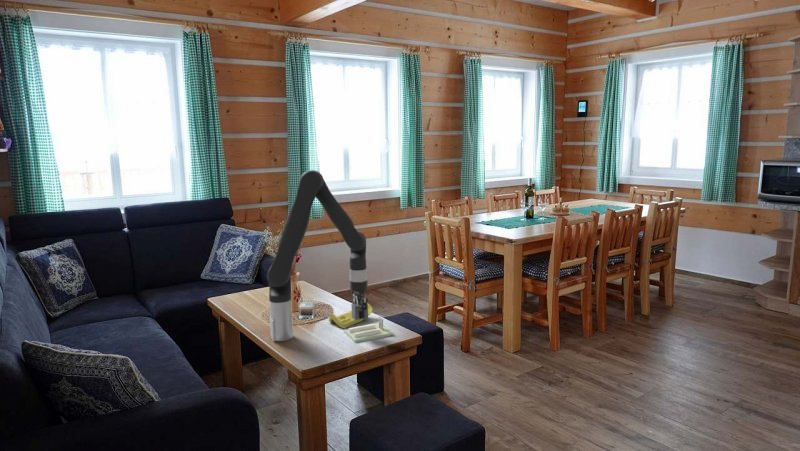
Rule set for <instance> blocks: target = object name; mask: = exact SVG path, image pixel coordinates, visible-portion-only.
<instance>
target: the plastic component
mask: <svg viewBox="0 0 800 451" xmlns="http://www.w3.org/2000/svg"><path fill="white" fill-rule="evenodd" d="M367 304H368V317H369V316H370V315H371V314H372V312H373V307H372V305H371V304H369V302H367ZM362 321H363V319H359V320H355V319H353V318H352V310H350V311H347V312H345V313H342V314H339V315H336V314H335V313H333V312H332V313H330V315H329V318H328V322H329V323H330V324H331V323H335V325H337V326H338V327H339V328H341V329H345V328H348V327H351V326H353V325H355V324H358V323H361V322H362Z"/></svg>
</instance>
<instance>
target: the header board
mask: <svg viewBox="0 0 800 451" xmlns="http://www.w3.org/2000/svg"><path fill="white" fill-rule="evenodd" d="M347 328H348V327H347ZM343 332H344V334H345V335H347V337H349V339H350V340H352V341H353V343H359V342H365V341H370V340H375V339H381V338H386V337H390V336H391V335H392V336H394V331H392V330H391V329H390V328H388V327H387V326H386V325H384V318H382V317H381V316H378V323H376V324H374V323H371V324H370V323H369V324H364V325H359V326H354V327H349V328H348V329H344V331H343Z"/></svg>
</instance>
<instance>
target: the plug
mask: <svg viewBox="0 0 800 451" xmlns="http://www.w3.org/2000/svg"><path fill="white" fill-rule="evenodd" d="M360 303H361V302H360ZM368 304H369V303H368ZM368 304H367V310H364V316H365V318H364V319H368V318H369V316H368ZM360 307H361V306H360ZM351 311H352V318H353V319H355V320H359V319H360V318H359V306H358V305H357V303H356V304H353V303H351Z"/></svg>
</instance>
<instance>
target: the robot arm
mask: <svg viewBox="0 0 800 451" xmlns="http://www.w3.org/2000/svg"><path fill="white" fill-rule="evenodd" d="M297 187H298V188H297V192H296V194H295V195H296V196H295V198H294V202H293V204H292V206H291V207H290V211H289V212H288V214H287V217H286V219H285V222H284V226H283V228H282V231H281V235H280V238H279V243H278V249H277V252H276V255H275V257H274V259H273V262H272V264H271V265H270V266H269V269H268V271H267V274H266V278H267V281H268V283H269V289H268V291H269V292H268V300H269V314H270V315H269V318H268V319H269V334H270V338H271V340H272V341H273V342H285V341H290V340H291V339H293V338H294V326H293V322H294V321H293V307H292V306H293V305H292V278H291V276H292V274H291V270H292V269H291V268H292V266H293V263H294V259H295V256H296V255H297V252H298V251H299V248H300V247H301V244H302V242H303V239H304V237H305V235H306V232H307V229H308V226H309V223H310V222H309V221H310V217H311V210H312V206H313V204H314V201H315V199H317V200H318V202H319V203H320V205H321V206H322V208H323V209H324V211H325V213H326V215H327V216H328V218H329V220H330V221H331V222H332V224H333V225H334V226H335V228H336V229H337V231H338V232H339V233H340V235H341V236H342V239H343V240H344V242H345V243H346V245H347V246H348V248H349V249H350V257H349V290H350V291H351V292H350V293H351V300H352V301H351V302H352V304H356V303H357V305H358V306H359V318H360V319H362V320H364V319H366V318H365V316H364V310H367V303H368V298H367V297H366V294H365V291H367V290H368V284H369V283H368V271H367V255H366V254H367V237H366V235H365V234H364V233H362V232H361V231H358V230H357V229H356V227H355V224H354V221H353V220H352V219H351V217H350V216H349V214H348V213H347V212H346V211H345V210H344V208H343V207H342V205H341V204H340V203H339V202H338V200H336V198H335V196H334V195H333V194H332V192H331V190H330V188H329V187H328V185H327V183H326V181H325V179H324V177H323V175H322V173H321V172H319V171H318V170H312V169H311V170H307V171H305V172H303V173H302V174H301V176H300V177H299V182H298V186H297ZM360 302H361V303H360ZM360 306H361V307H360Z"/></svg>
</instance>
